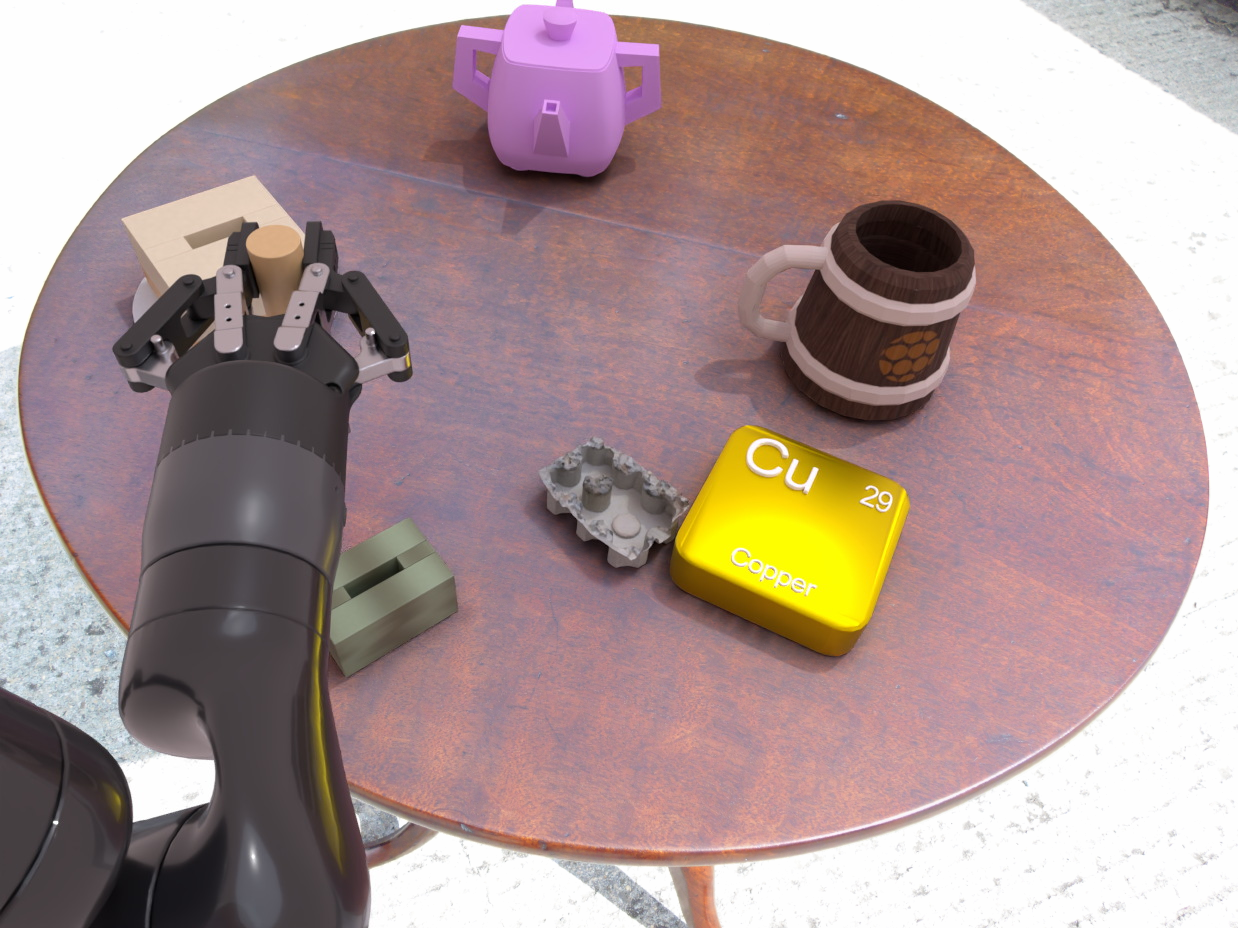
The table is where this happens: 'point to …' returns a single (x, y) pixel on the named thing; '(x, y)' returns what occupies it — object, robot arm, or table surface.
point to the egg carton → (613, 501)
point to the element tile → (791, 539)
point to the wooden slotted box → (200, 233)
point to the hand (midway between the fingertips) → (285, 235)
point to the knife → (276, 265)
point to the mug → (870, 308)
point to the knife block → (387, 595)
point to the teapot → (556, 87)
